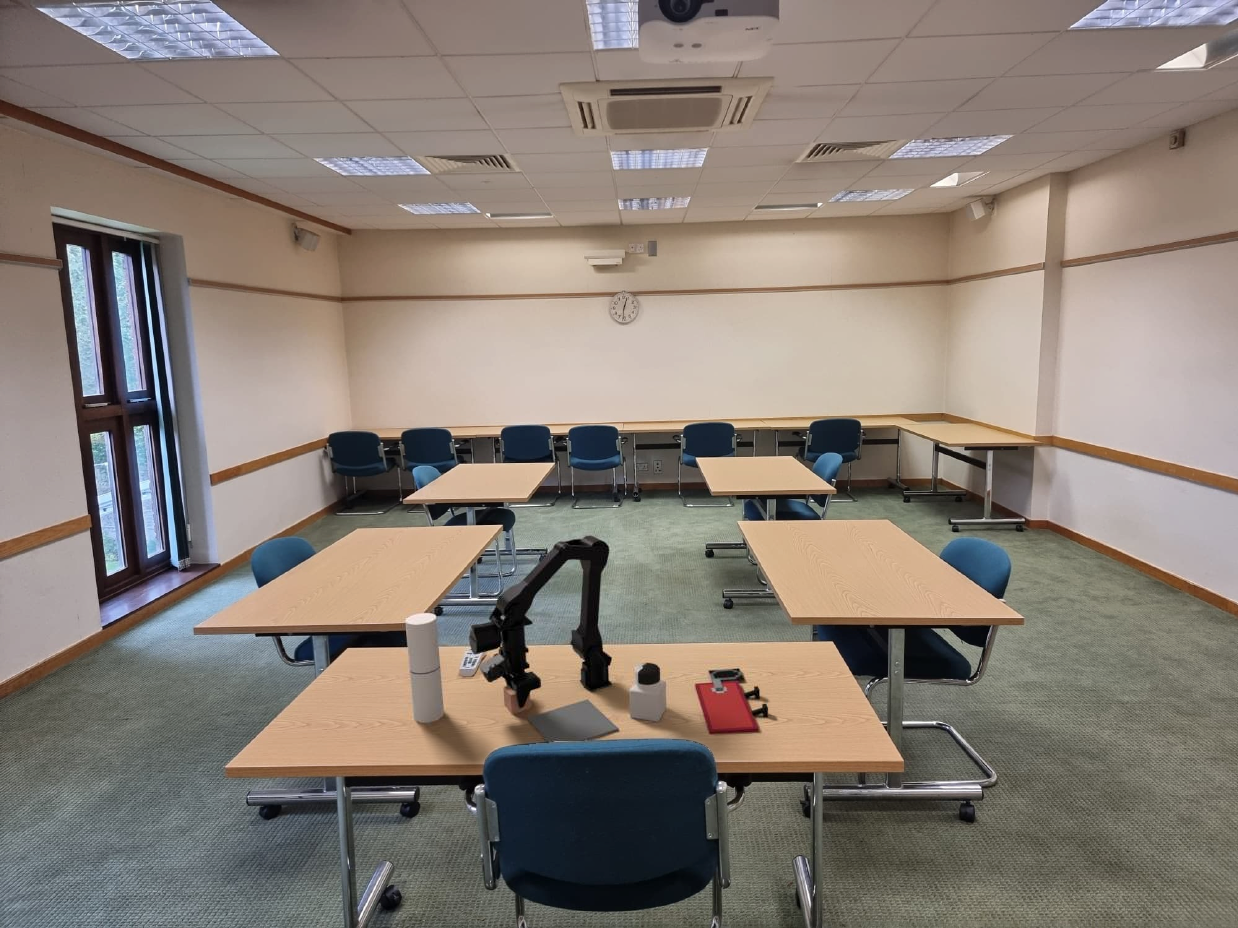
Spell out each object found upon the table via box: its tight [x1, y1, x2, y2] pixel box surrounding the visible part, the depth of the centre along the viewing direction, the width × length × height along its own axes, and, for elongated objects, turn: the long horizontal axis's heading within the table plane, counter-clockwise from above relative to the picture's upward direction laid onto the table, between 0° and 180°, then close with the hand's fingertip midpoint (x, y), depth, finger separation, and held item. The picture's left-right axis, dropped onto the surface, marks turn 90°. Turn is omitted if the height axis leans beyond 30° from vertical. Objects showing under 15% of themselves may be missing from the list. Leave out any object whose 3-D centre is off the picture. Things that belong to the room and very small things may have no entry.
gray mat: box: [527, 699, 620, 743], centre depth 166 cm, size 16×16×1 cm
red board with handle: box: [694, 667, 769, 735], centre depth 175 cm, size 30×3×15 cm
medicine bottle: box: [629, 662, 667, 723], centre depth 169 cm, size 7×7×12 cm
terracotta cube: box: [503, 685, 532, 715], centre depth 175 cm, size 5×5×5 cm
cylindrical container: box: [405, 612, 445, 724], centre depth 170 cm, size 7×7×25 cm
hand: (517, 702), depth 175 cm, fingers closed on terracotta cube, 5 cm apart
